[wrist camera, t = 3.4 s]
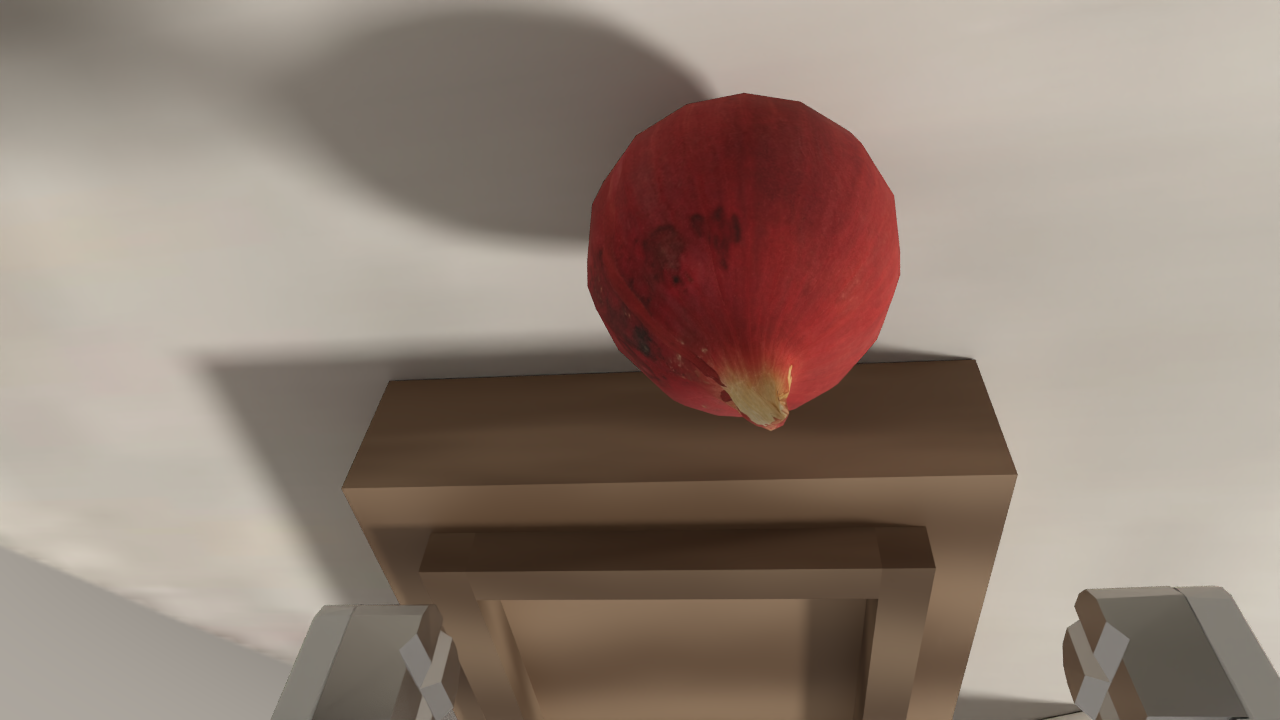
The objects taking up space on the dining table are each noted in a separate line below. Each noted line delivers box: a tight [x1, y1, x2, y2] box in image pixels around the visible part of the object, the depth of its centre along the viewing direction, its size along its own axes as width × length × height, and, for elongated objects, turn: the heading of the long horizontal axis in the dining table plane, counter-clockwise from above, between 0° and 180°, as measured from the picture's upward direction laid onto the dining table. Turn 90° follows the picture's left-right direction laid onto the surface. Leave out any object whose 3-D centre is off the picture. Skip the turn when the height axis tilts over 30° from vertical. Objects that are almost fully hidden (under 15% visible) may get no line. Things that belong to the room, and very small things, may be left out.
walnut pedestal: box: [341, 360, 1018, 720], centre depth 26 cm, size 16×16×5 cm
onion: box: [587, 93, 900, 431], centre depth 16 cm, size 6×6×8 cm
